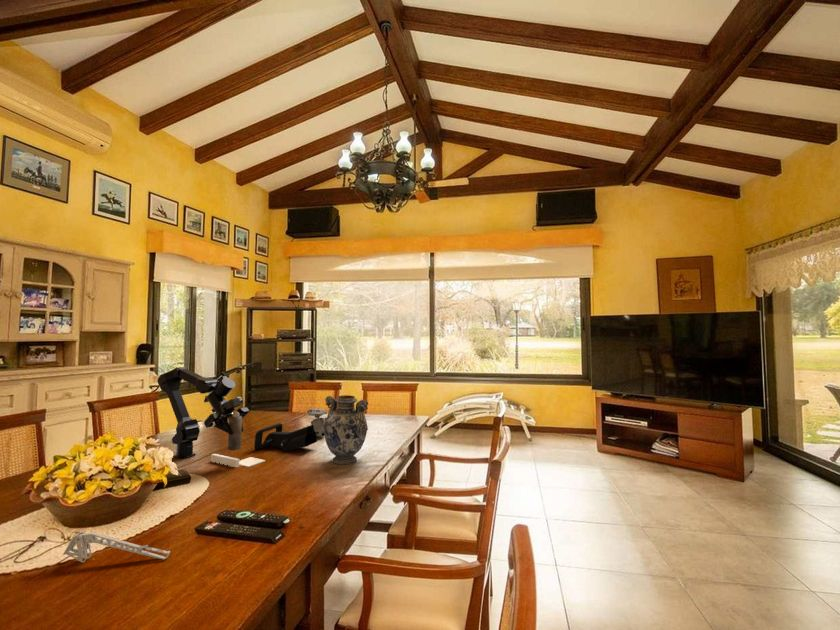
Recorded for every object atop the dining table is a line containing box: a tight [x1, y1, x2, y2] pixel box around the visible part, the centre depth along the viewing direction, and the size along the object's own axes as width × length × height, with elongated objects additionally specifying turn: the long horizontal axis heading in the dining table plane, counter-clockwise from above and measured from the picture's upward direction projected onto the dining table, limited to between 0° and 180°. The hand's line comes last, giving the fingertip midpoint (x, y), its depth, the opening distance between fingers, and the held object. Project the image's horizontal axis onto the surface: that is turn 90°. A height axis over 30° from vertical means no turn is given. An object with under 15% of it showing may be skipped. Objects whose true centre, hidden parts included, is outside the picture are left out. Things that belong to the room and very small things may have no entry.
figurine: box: [302, 407, 328, 439], centre depth 217 cm, size 9×12×15 cm
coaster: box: [239, 456, 266, 468], centre depth 172 cm, size 9×9×1 cm
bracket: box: [62, 530, 171, 563], centre depth 99 cm, size 3×21×10 cm, turn 95°
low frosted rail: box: [210, 453, 240, 468], centre depth 170 cm, size 15×2×3 cm, turn 64°
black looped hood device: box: [253, 422, 318, 452], centre depth 194 cm, size 17×27×15 cm, turn 73°
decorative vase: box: [323, 394, 369, 465], centre depth 178 cm, size 21×19×28 cm
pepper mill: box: [227, 411, 243, 451], centre depth 168 cm, size 5×5×15 cm
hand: (237, 432), depth 167 cm, fingers closed on pepper mill, 5 cm apart
